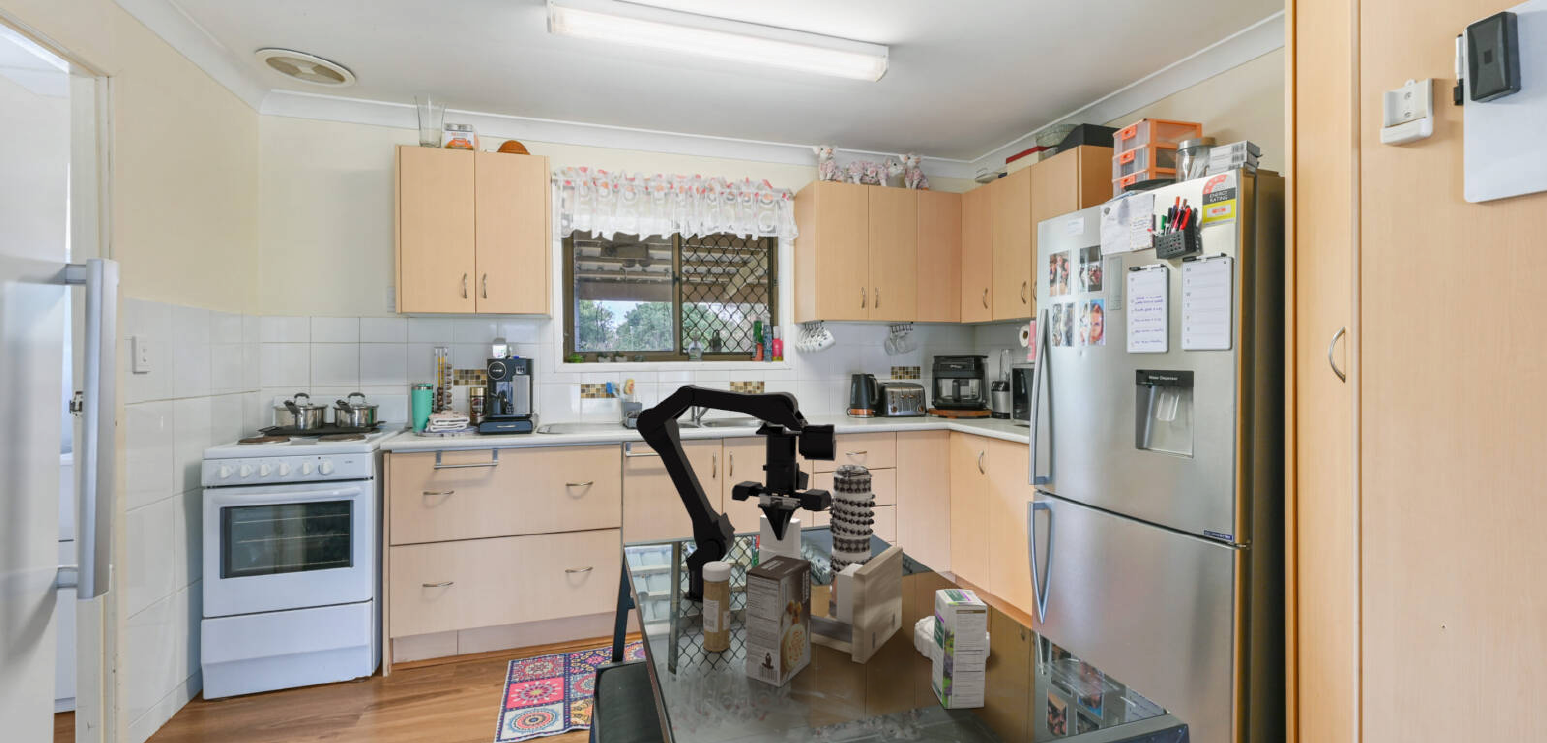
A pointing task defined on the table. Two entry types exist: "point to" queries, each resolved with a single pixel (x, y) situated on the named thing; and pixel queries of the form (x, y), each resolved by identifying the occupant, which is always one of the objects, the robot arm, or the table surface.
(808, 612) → the coffee box
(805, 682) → the table surface
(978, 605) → the syrup box
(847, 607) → the push knob
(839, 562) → the decorative candle
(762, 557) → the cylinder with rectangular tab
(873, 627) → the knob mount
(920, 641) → the mooncake
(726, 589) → the sprinkles bottle
